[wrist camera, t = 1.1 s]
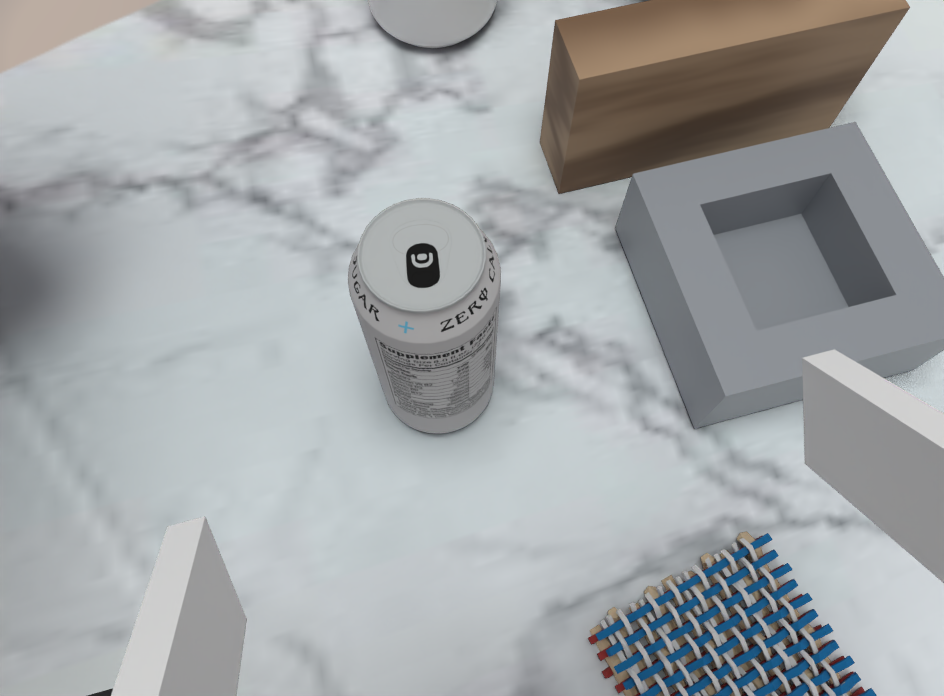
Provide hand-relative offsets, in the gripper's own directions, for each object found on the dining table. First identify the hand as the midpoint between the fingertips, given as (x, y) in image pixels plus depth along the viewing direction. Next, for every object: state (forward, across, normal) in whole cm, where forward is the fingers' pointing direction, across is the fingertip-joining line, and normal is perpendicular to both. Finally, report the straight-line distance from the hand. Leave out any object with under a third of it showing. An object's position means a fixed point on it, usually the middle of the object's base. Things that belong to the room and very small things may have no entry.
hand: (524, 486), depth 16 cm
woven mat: (+12, +10, -22) cm, 27 cm away
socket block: (+25, +19, -8) cm, 32 cm away
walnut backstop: (+33, +19, 0) cm, 38 cm away
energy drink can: (+25, 0, -9) cm, 26 cm away
